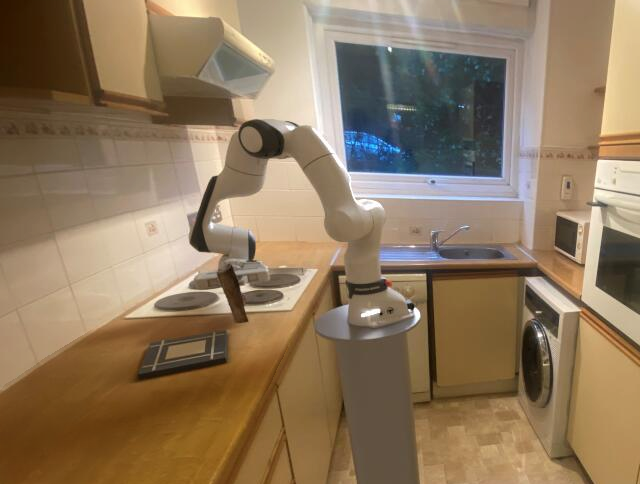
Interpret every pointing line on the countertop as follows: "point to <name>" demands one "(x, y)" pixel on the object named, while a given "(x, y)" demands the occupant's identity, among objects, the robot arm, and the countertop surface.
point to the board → (184, 354)
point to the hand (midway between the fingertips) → (233, 284)
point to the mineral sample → (233, 293)
